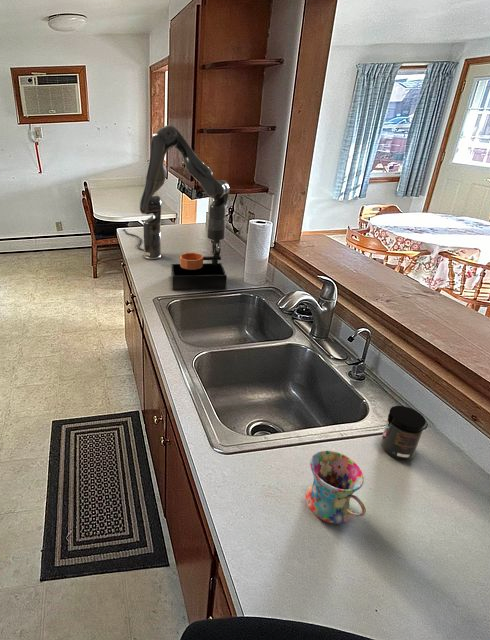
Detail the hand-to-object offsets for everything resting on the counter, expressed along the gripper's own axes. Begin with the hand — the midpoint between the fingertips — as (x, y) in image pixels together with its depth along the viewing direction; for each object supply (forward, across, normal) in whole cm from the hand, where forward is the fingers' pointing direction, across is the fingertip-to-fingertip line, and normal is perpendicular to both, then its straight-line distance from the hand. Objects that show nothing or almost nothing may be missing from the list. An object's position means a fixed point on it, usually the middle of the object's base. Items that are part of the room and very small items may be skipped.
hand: (214, 264), depth 176 cm
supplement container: (+10, -95, -30) cm, 100 cm away
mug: (+10, -111, -9) cm, 112 cm away
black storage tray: (+9, 0, +7) cm, 12 cm away
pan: (0, 0, +6) cm, 6 cm away
